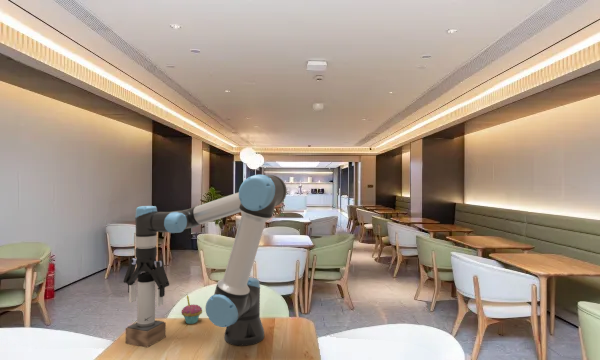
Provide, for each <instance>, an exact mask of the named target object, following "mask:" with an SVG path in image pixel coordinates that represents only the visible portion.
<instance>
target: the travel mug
mask: <svg viewBox="0 0 600 360" xmlns="http://www.w3.org/2000/svg"><path fill="white" fill-rule="evenodd" d="M136 301H137V302H136V303H137V304H136V306H137V307H136V308H137V310H136V311H137V312H136V313H137V314H136V321H137V322H136V323H137V325H138V326H139V327H149V326H152V325H153V324H154V323H155V320H156V282H155V281H154V279H153V277H152V276H151V274H149V272H145V271H143V272H141V273H140V274H138V278H137V286H136Z"/></svg>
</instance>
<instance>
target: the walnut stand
mask: <svg viewBox="0 0 600 360" xmlns="http://www.w3.org/2000/svg"><path fill="white" fill-rule="evenodd" d="M166 324H167V323H166V322H165V321H163V320H157V319H155V323H154V324H153V325H152V326H149V327H139V326H138V325H137V322H134V323H133V324H131V325H129V326H127V327H125V344H127V345H133V346H137V347H144V348H149V347H151V346H152V345H154V344H156V343H158V342H160V341H161V340H163V339H165V338H166V333H167V332H166V329H167V328H166V327H167V325H166Z"/></svg>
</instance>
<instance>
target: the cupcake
mask: <svg viewBox="0 0 600 360" xmlns="http://www.w3.org/2000/svg"><path fill="white" fill-rule="evenodd" d="M186 300H187V305H186V306H184V307H183V308H182V309H181V315H182V316H183V318H184V320H185V323H186V324H187V325H188V324H189V325H192V324H193V325H194V324H196V323H198V322H199V317H200V315H202V314H203V309H202V307H201V306H200V305H198V304H191V303H190V298H189V294H186Z"/></svg>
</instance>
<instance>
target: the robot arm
mask: <svg viewBox="0 0 600 360" xmlns="http://www.w3.org/2000/svg"><path fill="white" fill-rule="evenodd" d="M287 191H288V190H287V186H286V183H285V182H284V180H283V179H282V178H281V177H279V176H277V175H272V174H268V175H267V174H254V175H251V176H249V177H247V178H245V179H244V180H243V182H242V183H241V184H240V186H239V189H238V192H235V193H233V194H229V195H226V196H223V197H220V198H218V199H214V200H211V201H209V202H206V203H203V204H200V205H196V206H194V207H191V208H188V209H183V210H174V211H158V208H157V206H156V205H154V206H153V205H141V206H138V207H136V209H135V218H134V219H135V242H134V243H135V247H136V248H135V254H134V256H135V257H133V258H131V259H129V265H128V267H127V271H126V273H125V276H124V279H123V283H124V284H127V292H128V299H129V300H128V303H130V304H131V303H133V302H136V301H137V283H136V281H137V280H138V274H141V273H144V272H149V274H151V276H152V277H153V279H154V281H155V285H156V286H157V288H156V307H161V306H162V305H164V297H165V295H166V294H165V293H166V289H165V288H167V287H169V286H170V282H169V279H168V275H167V273H166V271H165V266H164V260H159V261H158V260H157V259H156V258H157V255H158V254H157V253H158V250H157V249H158V247H157V242H158V241H157V240H158V237H157V236H158V235H157V233H159V232H160V233H170V234H175V233H176V234H177V233H182V232H184V230H186V229H193V228H197V227H198V226H200V225H203V224H206V223H210V222H213V221H216V220H220V219H223V218H226V217H230V216H232V215H236V214H239V213H241V217H240V220H239V223H238V227H237V230H236V234H235V237H234V241H233V244H232V247H231V251H230V254H229V258H228V260H227V265H226V269H225V272H224V275H223V278H221V279H219V280H218V281H217V283H216V286H215V290H214V294H213V295H211V296H210V297H209V298H208V299H207V301H206V303H205V314H206V316H207V317H208V320H209V321H210V322H211V323H212V324H213V325H215V326H216V327H218V328H225V331H224V341H225V342H226V343H227V344H230V345H234V346H251V345H255V344H258V343H260V342H261V341H263V340H264V338H265V329H264V326H263V322H262V320H261V317H260V313H261V312H260V311H261V309H260V308H261V304H260V303H261V301H260V299H261V297H260V296H261V293H260V292H261V285H260V283H261V282H260V280H259V279H258V278H256V277H252V276H251V272H252V270H253V266H254V262H255V259H256V255H257V252H258V249H259V246H260V242H261V239H262V235H263V232H264V228H265V225H266V222H267V221H269V220H271V219H272V217H273V214H274V211H275V207H277V206H279V205H281V204H282V203H283V202H284V201H285V199H286V197H287Z"/></svg>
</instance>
